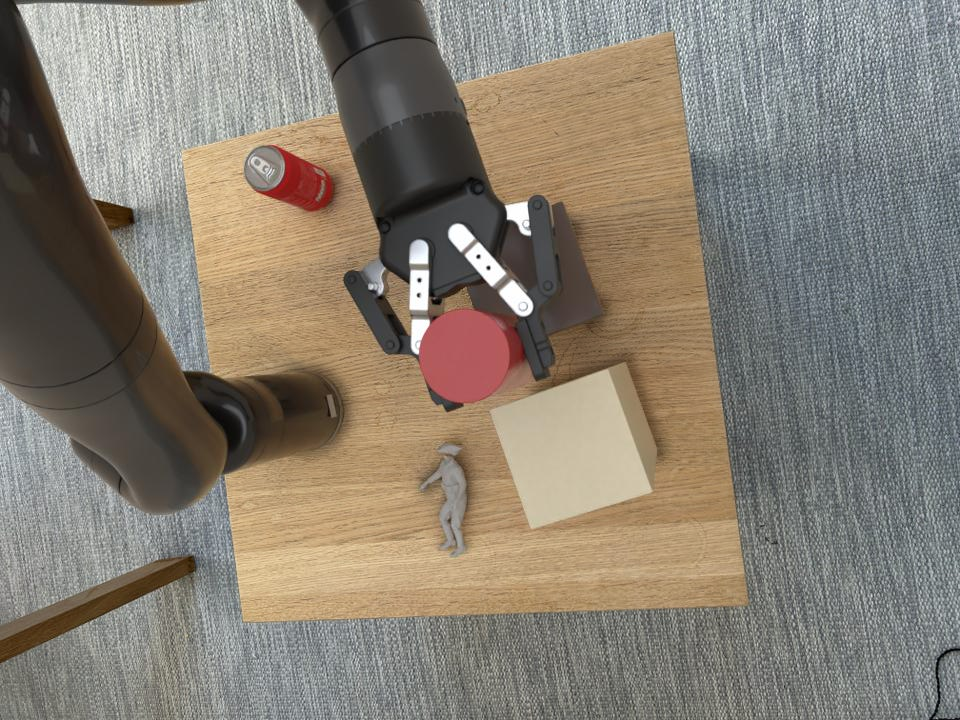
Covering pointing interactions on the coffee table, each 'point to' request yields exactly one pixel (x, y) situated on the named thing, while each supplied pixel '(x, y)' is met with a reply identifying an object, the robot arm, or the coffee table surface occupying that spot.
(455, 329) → the jar with red lid
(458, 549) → the soldier figure
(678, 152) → the coffee table surface
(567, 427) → the cream square block
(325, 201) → the beverage can
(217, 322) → the coffee table surface
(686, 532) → the coffee table surface
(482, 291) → the dark brown square tile
